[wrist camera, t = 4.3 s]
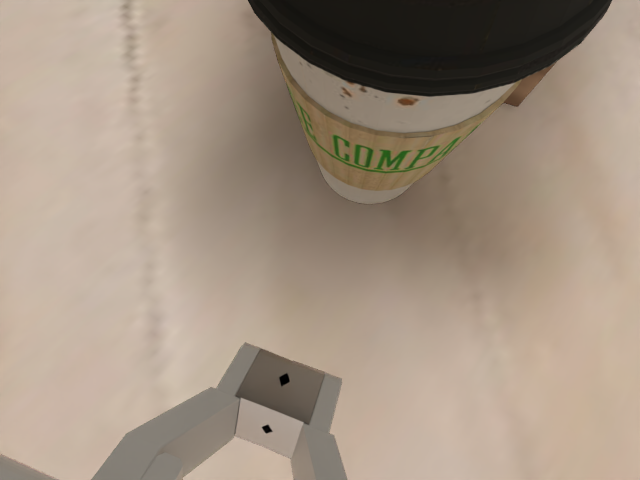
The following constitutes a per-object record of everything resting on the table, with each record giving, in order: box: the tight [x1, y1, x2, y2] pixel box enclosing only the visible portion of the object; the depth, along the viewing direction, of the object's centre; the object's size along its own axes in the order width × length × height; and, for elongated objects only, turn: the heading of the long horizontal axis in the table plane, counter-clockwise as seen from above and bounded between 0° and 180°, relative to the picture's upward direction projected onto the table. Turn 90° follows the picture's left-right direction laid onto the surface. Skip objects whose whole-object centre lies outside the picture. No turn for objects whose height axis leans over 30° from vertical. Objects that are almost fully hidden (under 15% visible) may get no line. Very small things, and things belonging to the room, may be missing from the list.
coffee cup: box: [248, 0, 612, 204], centre depth 15 cm, size 10×10×15 cm
